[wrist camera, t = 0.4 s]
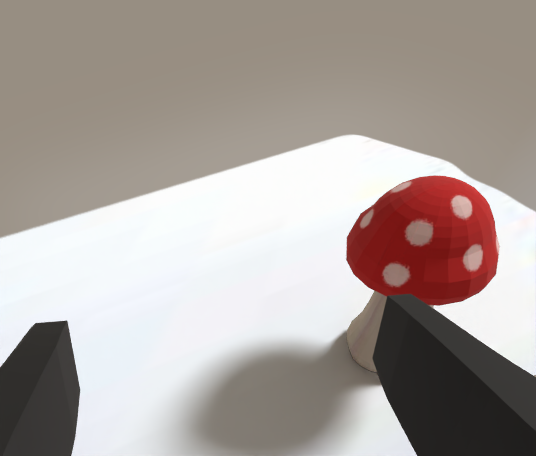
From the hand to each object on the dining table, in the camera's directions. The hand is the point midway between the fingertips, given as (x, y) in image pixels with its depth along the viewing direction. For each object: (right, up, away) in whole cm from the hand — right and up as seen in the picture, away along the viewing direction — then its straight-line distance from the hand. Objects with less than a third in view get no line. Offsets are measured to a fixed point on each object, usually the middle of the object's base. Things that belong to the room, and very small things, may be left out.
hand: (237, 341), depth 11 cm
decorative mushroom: (+10, -7, +26) cm, 28 cm away
